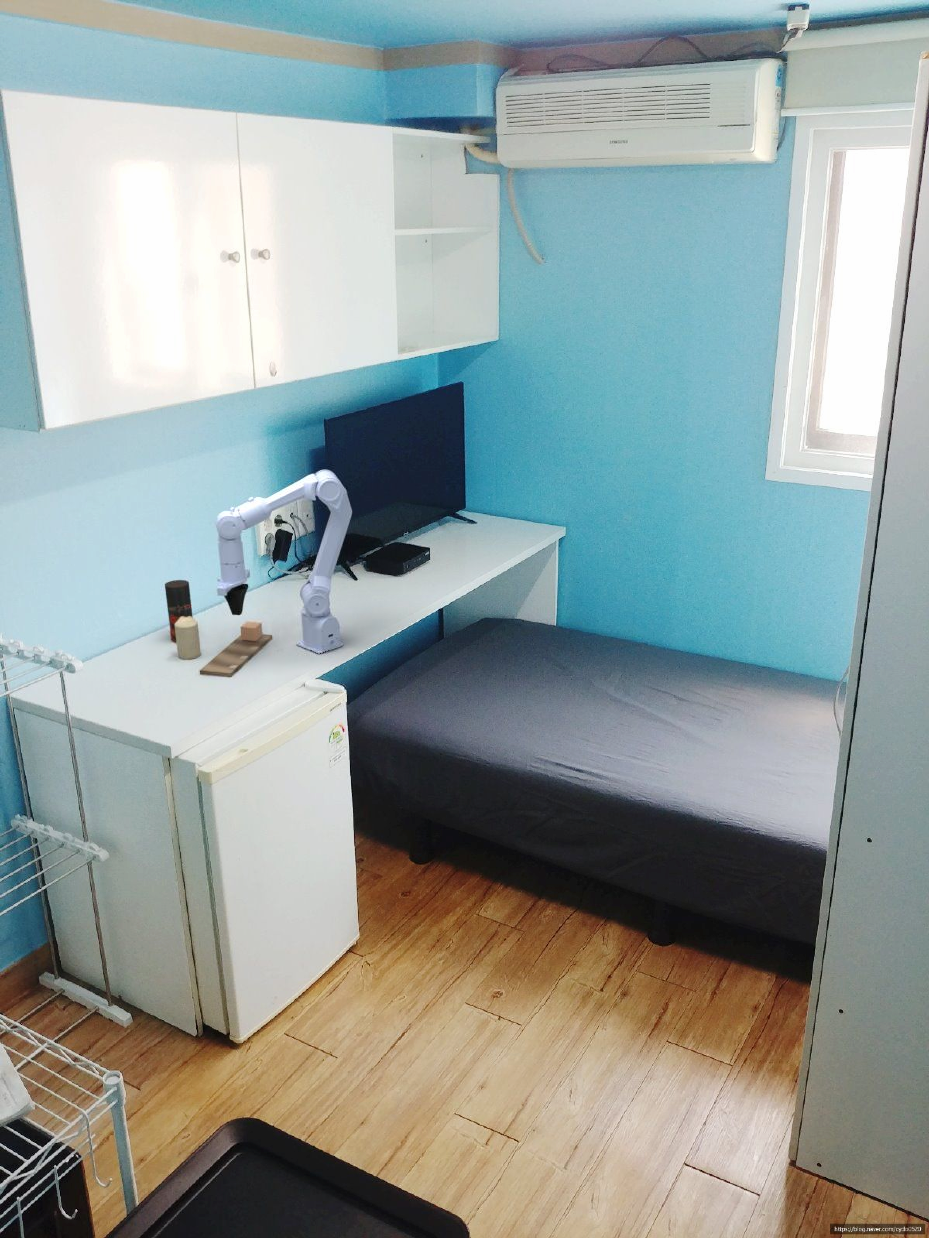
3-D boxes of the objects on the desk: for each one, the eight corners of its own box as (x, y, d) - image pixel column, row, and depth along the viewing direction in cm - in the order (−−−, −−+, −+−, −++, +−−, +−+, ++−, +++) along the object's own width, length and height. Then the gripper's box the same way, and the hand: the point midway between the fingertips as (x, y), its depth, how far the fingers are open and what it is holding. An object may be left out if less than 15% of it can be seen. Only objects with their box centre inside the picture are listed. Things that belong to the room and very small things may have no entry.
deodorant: (167, 638, 277) (160, 583, 272) (188, 632, 281) (182, 578, 275) (177, 644, 273) (171, 589, 268) (198, 639, 276) (193, 583, 271)
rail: (243, 636, 278) (243, 632, 278) (272, 638, 276) (272, 634, 276) (199, 674, 255) (199, 670, 255) (231, 677, 253) (230, 672, 253)
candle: (173, 656, 266) (169, 619, 262) (190, 649, 270) (186, 612, 266) (189, 661, 263) (184, 623, 259) (205, 654, 267) (201, 616, 263)
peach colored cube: (248, 634, 276) (246, 621, 274) (262, 635, 275) (261, 622, 274) (241, 639, 272) (240, 627, 271) (256, 641, 271) (255, 628, 270)
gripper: (229, 551, 266) (234, 603, 271) (203, 569, 253) (208, 623, 258) (255, 553, 265) (260, 604, 269) (231, 571, 251) (236, 625, 256)
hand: (237, 614), depth 264 cm, fingers closed
